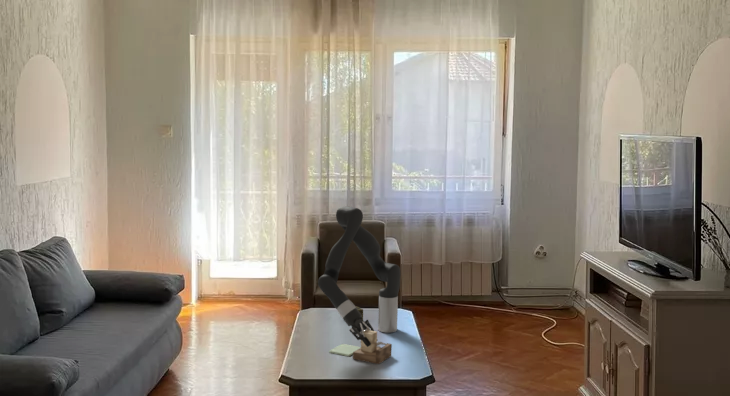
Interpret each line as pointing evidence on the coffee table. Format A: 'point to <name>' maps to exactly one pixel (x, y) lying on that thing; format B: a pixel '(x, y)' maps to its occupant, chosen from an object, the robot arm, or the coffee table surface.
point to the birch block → (373, 340)
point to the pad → (344, 350)
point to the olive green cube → (360, 311)
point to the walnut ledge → (374, 354)
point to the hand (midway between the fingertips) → (372, 343)
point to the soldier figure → (381, 344)
